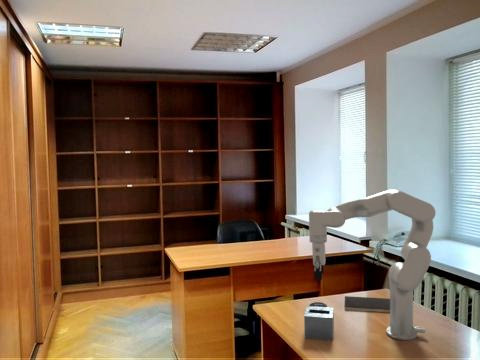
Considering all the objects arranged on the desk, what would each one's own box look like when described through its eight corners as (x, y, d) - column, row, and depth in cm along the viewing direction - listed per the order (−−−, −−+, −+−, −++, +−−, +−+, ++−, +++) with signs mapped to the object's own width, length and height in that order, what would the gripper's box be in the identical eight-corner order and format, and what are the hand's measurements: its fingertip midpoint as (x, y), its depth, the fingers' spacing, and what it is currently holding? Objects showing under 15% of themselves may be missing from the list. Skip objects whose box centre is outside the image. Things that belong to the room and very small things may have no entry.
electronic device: (327, 320, 208) (328, 305, 222) (325, 310, 207) (326, 295, 221) (308, 321, 210) (310, 306, 225) (306, 311, 209) (308, 297, 224)
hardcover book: (392, 313, 211) (392, 309, 211) (344, 310, 217) (344, 306, 217) (389, 302, 227) (389, 298, 226) (344, 299, 232) (344, 295, 232)
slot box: (333, 329, 194) (333, 307, 194) (332, 340, 183) (332, 318, 182) (307, 326, 197) (307, 305, 197) (304, 338, 186) (304, 316, 185)
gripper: (325, 242, 178) (326, 282, 179) (327, 234, 194) (328, 271, 196) (307, 242, 180) (308, 282, 181) (311, 234, 196) (312, 270, 198)
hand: (319, 276), depth 188 cm, fingers open, 9 cm apart
